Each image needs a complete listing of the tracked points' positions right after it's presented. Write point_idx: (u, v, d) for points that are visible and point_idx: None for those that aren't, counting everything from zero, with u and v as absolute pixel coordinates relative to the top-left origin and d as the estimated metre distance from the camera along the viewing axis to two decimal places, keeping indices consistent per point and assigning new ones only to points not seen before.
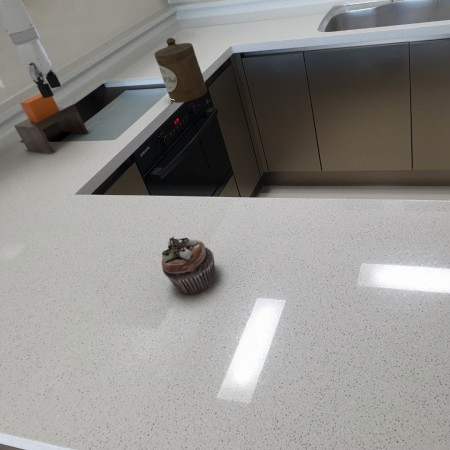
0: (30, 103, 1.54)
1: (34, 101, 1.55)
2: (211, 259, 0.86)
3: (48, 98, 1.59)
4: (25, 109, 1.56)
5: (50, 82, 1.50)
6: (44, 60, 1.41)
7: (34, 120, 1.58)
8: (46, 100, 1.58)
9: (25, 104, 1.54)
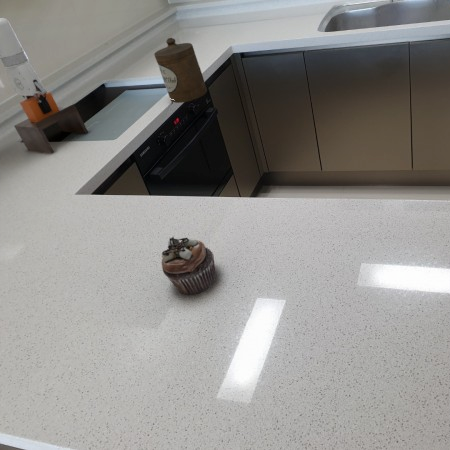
0: (30, 103, 1.54)
1: (34, 101, 1.55)
2: (211, 259, 0.86)
3: (48, 98, 1.59)
4: (25, 109, 1.56)
5: None
6: None
7: (34, 120, 1.58)
8: None
9: (25, 104, 1.54)
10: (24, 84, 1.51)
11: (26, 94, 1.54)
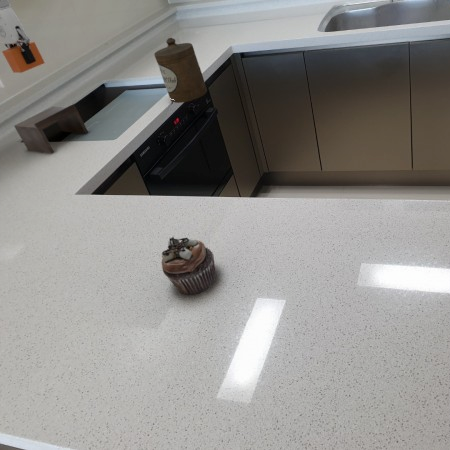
0: (12, 51, 1.48)
1: (17, 49, 1.49)
2: (211, 259, 0.86)
3: (32, 48, 1.53)
4: (8, 58, 1.50)
5: None
6: None
7: (17, 70, 1.52)
8: (30, 49, 1.52)
9: (7, 52, 1.48)
10: (6, 30, 1.45)
11: (8, 42, 1.48)
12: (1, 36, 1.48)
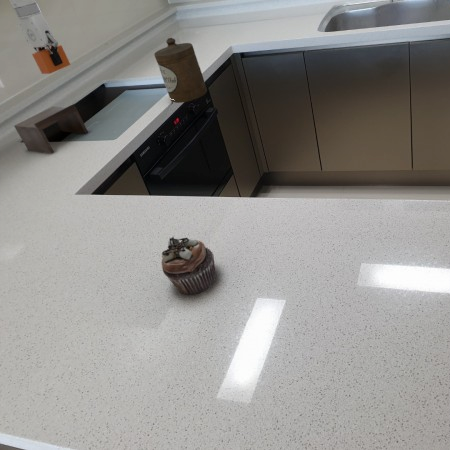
0: (42, 54, 1.59)
1: (46, 52, 1.60)
2: (211, 259, 0.86)
3: (59, 50, 1.64)
4: (37, 60, 1.62)
5: None
6: None
7: (46, 71, 1.63)
8: None
9: (37, 55, 1.60)
10: (36, 35, 1.56)
11: (38, 45, 1.59)
12: (31, 40, 1.59)
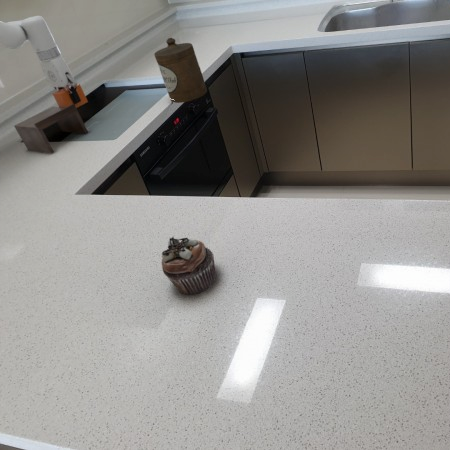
0: (62, 94, 1.68)
1: (65, 92, 1.69)
2: (211, 259, 0.86)
3: (78, 89, 1.73)
4: (57, 99, 1.70)
5: None
6: None
7: None
8: None
9: (57, 95, 1.68)
10: (57, 76, 1.65)
11: (58, 85, 1.68)
12: (52, 80, 1.68)
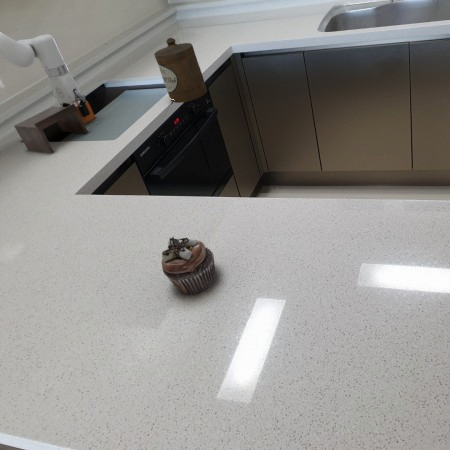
0: None
1: None
2: (211, 259, 0.86)
3: None
4: None
5: None
6: None
7: None
8: None
9: None
10: (65, 93, 1.68)
11: (66, 102, 1.71)
12: (60, 97, 1.71)
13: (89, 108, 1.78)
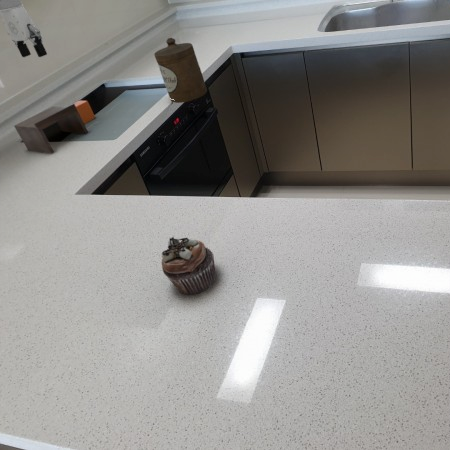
0: None
1: None
2: (211, 259, 0.86)
3: (85, 106, 1.77)
4: None
5: (22, 51, 1.63)
6: None
7: None
8: (84, 107, 1.76)
9: None
10: (18, 28, 1.54)
11: (20, 39, 1.57)
12: (13, 33, 1.57)
13: (89, 108, 1.78)
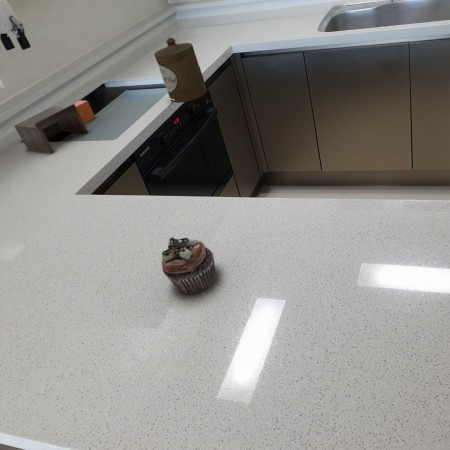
0: None
1: None
2: (211, 259, 0.86)
3: (85, 106, 1.77)
4: None
5: (6, 44, 1.61)
6: None
7: None
8: (84, 107, 1.76)
9: None
10: (0, 20, 1.52)
11: (2, 31, 1.54)
12: None
13: (89, 108, 1.78)
